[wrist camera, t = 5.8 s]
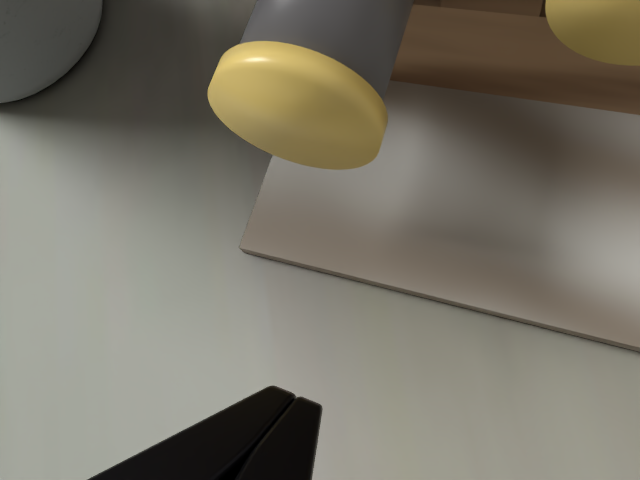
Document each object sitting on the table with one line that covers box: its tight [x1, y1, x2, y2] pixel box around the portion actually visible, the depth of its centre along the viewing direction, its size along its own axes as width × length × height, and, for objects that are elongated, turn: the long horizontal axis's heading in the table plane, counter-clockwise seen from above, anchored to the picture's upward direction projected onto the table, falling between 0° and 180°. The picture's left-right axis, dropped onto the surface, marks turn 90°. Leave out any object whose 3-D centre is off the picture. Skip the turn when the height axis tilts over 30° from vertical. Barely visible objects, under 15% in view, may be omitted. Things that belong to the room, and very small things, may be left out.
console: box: [239, 0, 640, 352], centre depth 15 cm, size 14×15×14 cm
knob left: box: [208, 0, 414, 170], centre depth 16 cm, size 8×5×5 cm, turn 162°
